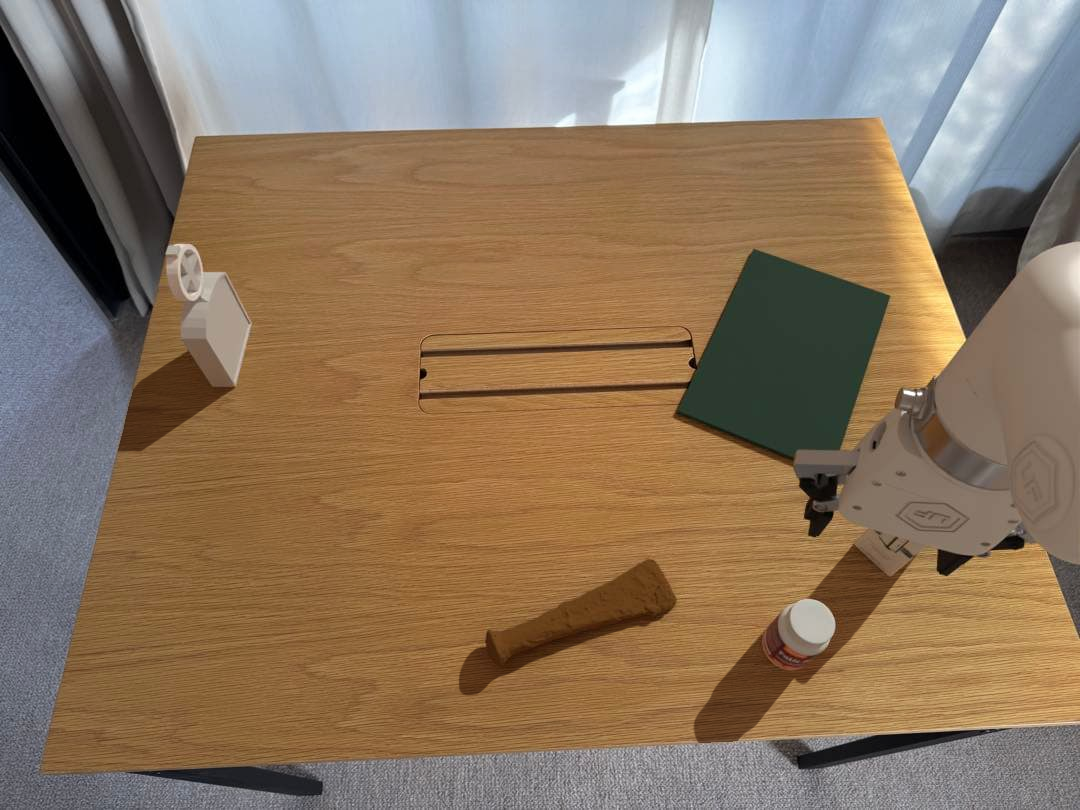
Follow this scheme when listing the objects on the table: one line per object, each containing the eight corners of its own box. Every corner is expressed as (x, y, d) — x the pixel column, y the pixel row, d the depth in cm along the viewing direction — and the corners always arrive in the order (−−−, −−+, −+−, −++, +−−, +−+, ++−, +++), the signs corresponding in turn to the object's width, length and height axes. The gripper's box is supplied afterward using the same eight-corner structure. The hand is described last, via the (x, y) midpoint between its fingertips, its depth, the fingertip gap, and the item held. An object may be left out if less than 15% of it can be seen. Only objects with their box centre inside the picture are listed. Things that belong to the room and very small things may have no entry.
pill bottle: (766, 672, 73) (791, 649, 66) (757, 622, 76) (780, 595, 68) (816, 670, 73) (846, 647, 66) (805, 620, 76) (833, 593, 69)
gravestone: (252, 323, 95) (197, 216, 80) (235, 386, 90) (173, 285, 75) (229, 323, 95) (170, 216, 80) (212, 386, 90) (145, 285, 75)
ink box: (901, 496, 83) (951, 443, 73) (940, 529, 81) (997, 480, 71) (850, 544, 80) (895, 496, 70) (889, 580, 78) (941, 535, 68)
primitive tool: (652, 558, 79) (657, 546, 76) (680, 606, 76) (685, 595, 73) (480, 638, 75) (478, 629, 72) (503, 692, 72) (501, 684, 69)
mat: (888, 298, 97) (890, 295, 97) (830, 475, 84) (832, 473, 84) (752, 251, 102) (753, 248, 101) (676, 413, 88) (677, 410, 88)
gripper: (828, 438, 45) (757, 548, 59) (1151, 525, 42) (993, 619, 56) (843, 340, 48) (773, 466, 63) (1140, 414, 45) (994, 528, 60)
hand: (877, 538), depth 59 cm, fingers open, 9 cm apart
